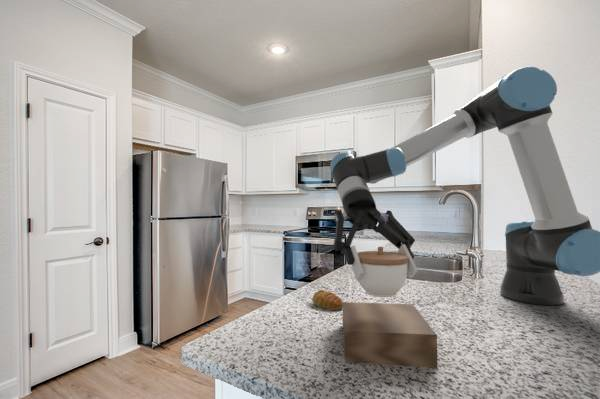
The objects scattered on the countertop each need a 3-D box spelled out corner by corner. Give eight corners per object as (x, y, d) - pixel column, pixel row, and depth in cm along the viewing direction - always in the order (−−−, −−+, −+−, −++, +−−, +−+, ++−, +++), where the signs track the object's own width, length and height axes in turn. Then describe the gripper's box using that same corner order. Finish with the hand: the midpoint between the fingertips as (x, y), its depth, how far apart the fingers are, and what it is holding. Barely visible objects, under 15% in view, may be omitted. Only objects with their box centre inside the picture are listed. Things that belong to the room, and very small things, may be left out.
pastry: (349, 308, 81) (349, 294, 81) (332, 314, 77) (332, 299, 77) (326, 300, 89) (326, 287, 89) (309, 305, 84) (309, 291, 85)
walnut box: (413, 330, 67) (412, 304, 67) (437, 369, 51) (436, 334, 51) (342, 327, 69) (342, 302, 69) (344, 364, 53) (344, 330, 53)
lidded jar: (412, 302, 54) (412, 251, 54) (353, 299, 56) (353, 250, 56) (404, 287, 64) (403, 244, 65) (354, 284, 67) (354, 243, 67)
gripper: (393, 209, 78) (431, 282, 62) (308, 209, 73) (327, 289, 58) (404, 187, 73) (448, 262, 57) (313, 186, 68) (335, 267, 53)
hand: (387, 275), depth 57 cm, fingers closed on lidded jar, 11 cm apart
